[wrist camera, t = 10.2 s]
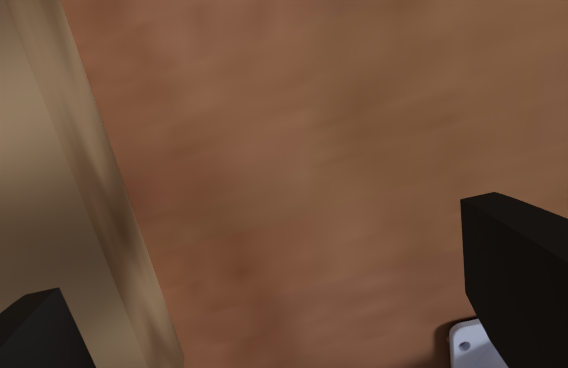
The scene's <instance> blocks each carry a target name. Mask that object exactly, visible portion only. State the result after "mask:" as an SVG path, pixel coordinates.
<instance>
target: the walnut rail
mask: <svg viewBox="0 0 568 368" xmlns="http://www.w3.org/2000/svg"><path fill="white" fill-rule="evenodd" d="M57 287H59V288H60V290H61V292H62V294H63V297H64V299H65V301H66V303H67V305H68V307H69V310H70V312H71V314H72V316H73V318H74V320H75V323H76V325H77V327H78V329H79V331H80V333H81V336H82V338H83V340H84V342H85V344H86V346H87V349H88V351H89V353H90V355H91V357H92V359H93V362H94V364H95V366H96V368H183V367H184V355H183V352H182V350H181V347H180V344H179V341H178V338H177V335H176V332H175V329H174V326H173V324H172V321H171V318H170V315H169V312H168V309H167V306H166V303H165V300H164V298H163V295H162V292H161V289H160V286H159V283H158V280H157V277H156V275H155V272H154V269H153V266H152V263H151V260H150V257H149V254H148V251H147V249H146V246H145V243H144V240H143V237H142V234H141V231H140V228H139V226H138V223H137V220H136V217H135V214H134V211H133V208H132V205H131V202H130V200H129V197H128V194H127V191H126V188H125V185H124V182H123V179H122V177H121V174H120V171H119V168H118V165H117V162H116V159H115V156H114V153H113V151H112V148H111V145H110V142H109V139H108V136H107V133H106V130H105V128H104V125H103V122H102V119H101V116H100V113H99V110H98V107H97V104H96V102H95V99H94V96H93V93H92V90H91V87H90V84H89V81H88V79H87V76H86V73H85V70H84V67H83V64H82V61H81V58H80V56H79V53H78V50H77V47H76V44H75V41H74V38H73V35H72V32H71V30H70V27H69V24H68V21H67V18H66V15H65V12H64V9H63V7H62V4H61V1H60V0H0V313H1V312H2V311H4V310H5V309H6V308H7V307H9V306H10V305H11V304H13V303H14V302H15V301H17V300H18V299H20V298H21V297H22V296H24V295H25V294H30V293H35V292H39V291H44V290H48V289H53V288H57Z"/></svg>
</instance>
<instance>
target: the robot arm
mask: <svg viewBox="0 0 568 368" xmlns="http://www.w3.org/2000/svg"><path fill="white" fill-rule="evenodd" d="M460 203H461V221H462V239H463V257H464V275H465V293H466V295H467V297H468V299H469V301H470V303H471V305H472V307H473V309H474V311H475V313H476V315H477V317H478V319H475V320H470V321H466V322H461V323H458V324H456V325H454V326H453V327H452V328H451V330H450V333H449V340H450V357H451V368H568V219H567V218H564V217H562V216H559V215H557V214H554V213H551V212H549V211H546V210H544V209H541V208H539V207H536V206H533V205H531V204H528V203H526V202H523V201H520V200H518V199H515V198H512V197H509V196H506V195H503V194H500V193H496V192H492V193H487V194H483V195H478V196H474V197H469V198H465V199H460ZM462 342H465V343H464V344H462V345H460V344H461V343H462ZM0 368H96V366H95V364H94V362H93V359H92V357H91V355H90V353H89V351H88V349H87V346H86V344H85V342H84V340H83V338H82V336H81V333H80V331H79V329H78V327H77V325H76V323H75V320H74V318H73V316H72V314H71V312H70V310H69V307H68V305H67V303H66V301H65V299H64V297H63V294H62V292H61V290H60V288H59V287H57V288H53V289H48V290H44V291H39V292H35V293H30V294H25V295H24V296H22V297H21V298H20V299H18V300H17V301H15V302H14V303H13V304H11V305H10V306H9V307H7V308H6V309H5V310H4V311H2V312H1V313H0Z"/></svg>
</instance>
